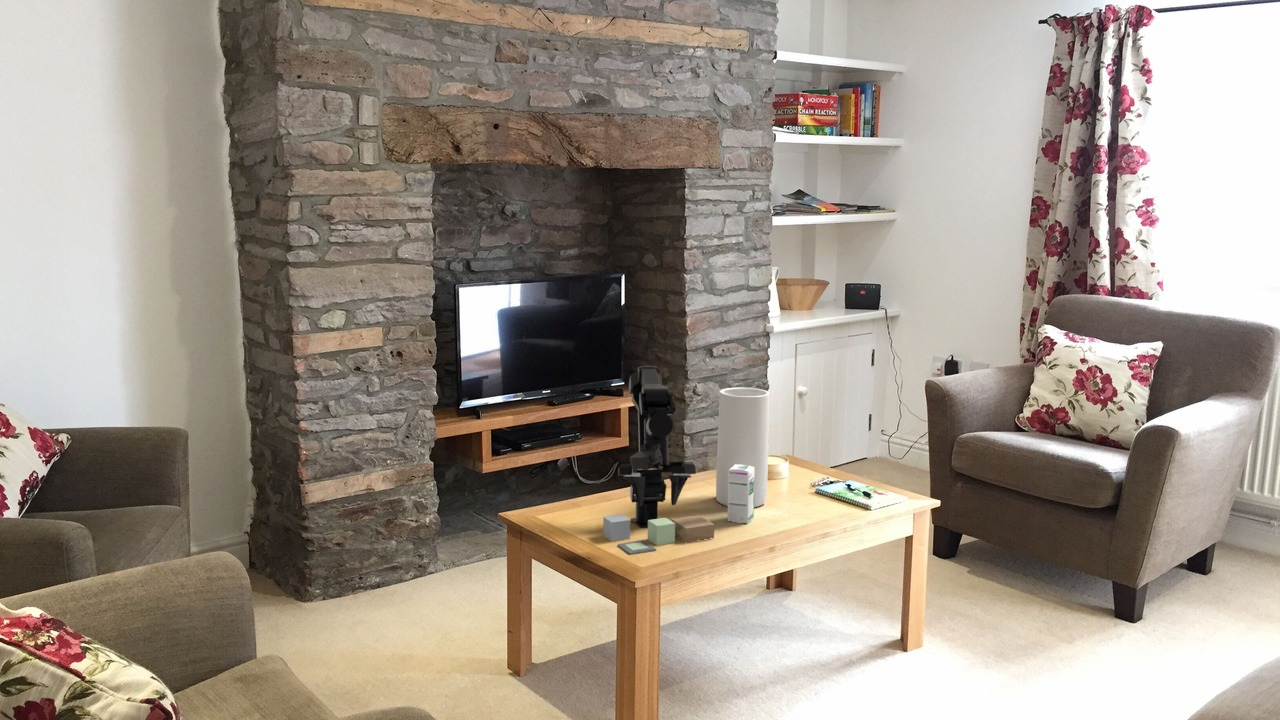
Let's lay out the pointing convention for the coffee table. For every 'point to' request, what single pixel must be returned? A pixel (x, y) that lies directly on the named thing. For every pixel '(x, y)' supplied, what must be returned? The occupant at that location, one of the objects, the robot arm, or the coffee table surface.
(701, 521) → the walnut block
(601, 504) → the coffee table surface
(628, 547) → the card
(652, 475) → the robot arm
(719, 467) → the vase
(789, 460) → the coffee table surface
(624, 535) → the slate cube
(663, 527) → the green cube
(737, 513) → the syrup box
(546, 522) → the coffee table surface
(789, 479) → the coffee table surface
